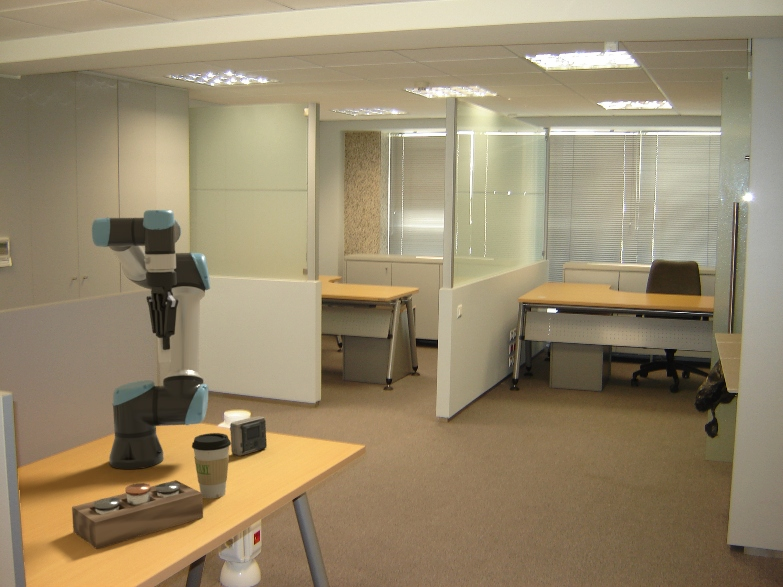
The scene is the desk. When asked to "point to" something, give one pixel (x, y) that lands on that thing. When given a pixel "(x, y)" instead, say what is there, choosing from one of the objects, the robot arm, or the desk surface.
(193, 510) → the wooden jar holder
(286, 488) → the desk surface
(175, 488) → the ball
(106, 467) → the desk surface
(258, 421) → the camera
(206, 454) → the coffee cup
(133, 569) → the desk surface
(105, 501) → the grey plunger front
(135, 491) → the terracotta plunger
